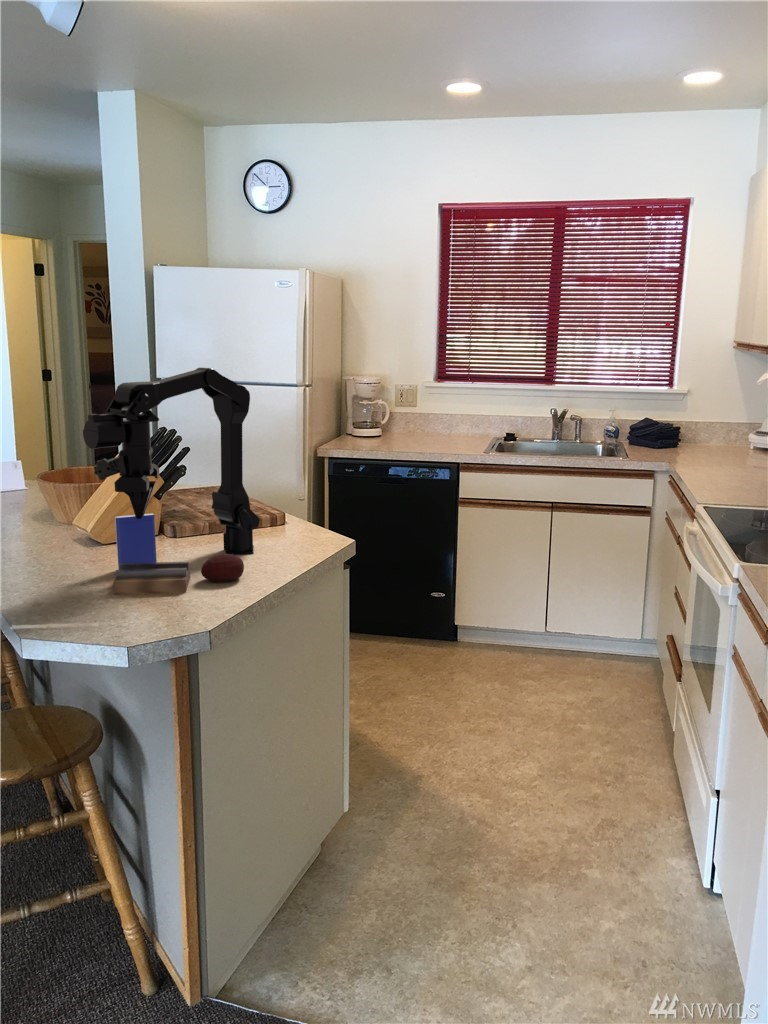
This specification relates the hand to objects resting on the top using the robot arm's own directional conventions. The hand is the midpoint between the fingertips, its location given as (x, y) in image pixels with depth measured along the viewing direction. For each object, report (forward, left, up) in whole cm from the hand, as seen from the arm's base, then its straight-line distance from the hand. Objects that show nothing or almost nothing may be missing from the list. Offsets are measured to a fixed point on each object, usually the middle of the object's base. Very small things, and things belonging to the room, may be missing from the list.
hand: (140, 517), depth 169 cm
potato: (-17, +5, -14) cm, 22 cm away
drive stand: (-3, +7, -13) cm, 15 cm away
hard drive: (+2, -5, -13) cm, 15 cm away
